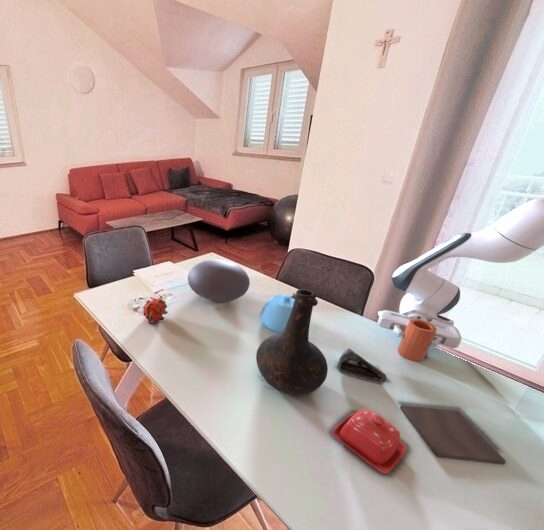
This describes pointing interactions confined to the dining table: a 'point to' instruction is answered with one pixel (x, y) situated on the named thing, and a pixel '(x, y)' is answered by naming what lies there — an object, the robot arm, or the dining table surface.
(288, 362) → the glass bottle
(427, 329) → the pot
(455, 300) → the robot arm
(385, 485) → the dining table surface
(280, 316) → the sugar bowl
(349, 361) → the chocolate cake
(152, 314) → the dragon fruit
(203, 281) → the smooth stone
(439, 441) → the plate
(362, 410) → the butter dish
